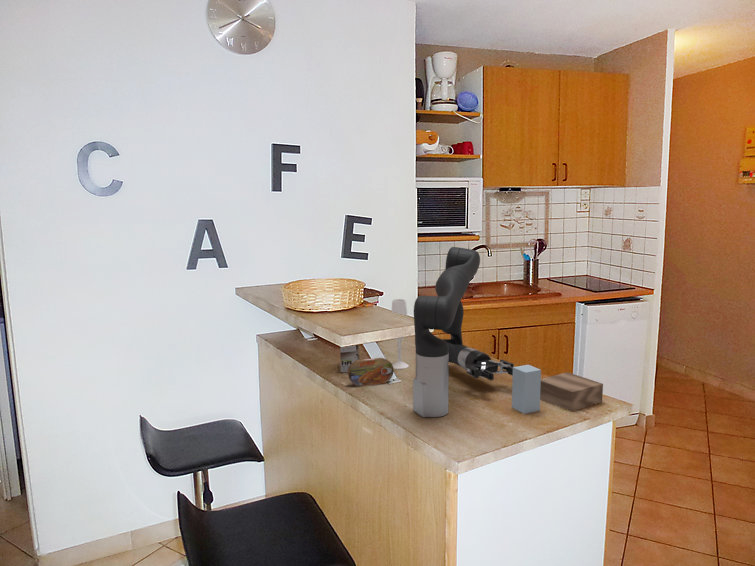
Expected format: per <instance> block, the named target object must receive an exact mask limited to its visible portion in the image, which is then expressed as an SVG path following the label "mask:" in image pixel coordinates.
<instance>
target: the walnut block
mask: <svg viewBox="0 0 755 566" xmlns="http://www.w3.org/2000/svg"><path fill="white" fill-rule="evenodd" d="M603 391H604V384H603V383H601V382H598V381H595V380H593V379H589V378H588V377H587V378H586V377H583V376H580V375H578V374H574V373H571V372H568V371H567V372H563V373H560V374H555V375H551V376H546V377H544V378H542V377H541V388H540V401H544V402H546V403H549V404H551V403H552V404H551V405H554V406H556V405H557V407H559V406H560V407H559V408H561V407H562V408H561V409H564V408H565V410H567V409H568V410H567V411H569V410H570V412H575V411H578V410H577V409H579V410H581V409H580V408H582V409H584V407H585V408H588V407H587V406H589V407H591V406H590V405H592V406H594V405H593V404H595V405H598V404H597V403H599V404H601V403H603ZM574 410H575V411H574Z"/></svg>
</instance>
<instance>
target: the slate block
mask: <svg viewBox="0 0 755 566" xmlns="http://www.w3.org/2000/svg"><path fill="white" fill-rule="evenodd" d="M541 379H542V369H541V368H540V369H539V368H538V367H535V366H532V365H530V364H525V365H519V366H514V367H513V376H512V379H511V380H512V384H511V386H512V387H511V392H512V393H511V408H512V409H514V410H516V411H518V412H520V413H521V414H523V415H526V414H531V413H534V412H540V410H541V399H540V388H541Z"/></svg>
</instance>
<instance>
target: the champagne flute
mask: <svg viewBox="0 0 755 566" xmlns="http://www.w3.org/2000/svg"><path fill="white" fill-rule="evenodd" d="M391 311H392V313H393V312H394V314H395V312H396V314H397V313H398V314H402V315H406V316H407V317H408V311H407V301H406V299H403V298H398V299H397V298H395V299H392V301H391ZM404 338H405V337H401V338H395V340H397V361H394V362H393V363H391V364H392V366H393V369H396V370H397V369H398V370H399V369H401V370H403V369H407V368H409V366H410V365H409V364H407V363H406V362H404V361H403V360H402V340H403V339H404Z"/></svg>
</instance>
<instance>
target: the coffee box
mask: <svg viewBox="0 0 755 566" xmlns="http://www.w3.org/2000/svg"><path fill="white" fill-rule="evenodd" d="M339 347H340V346H339ZM339 351H340V372H341V373H348V368H349V366H350V365H351V364H352V363H353V362H354V361H357V360H360V344H359V345H353V346H347V347H340V350H339Z"/></svg>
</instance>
